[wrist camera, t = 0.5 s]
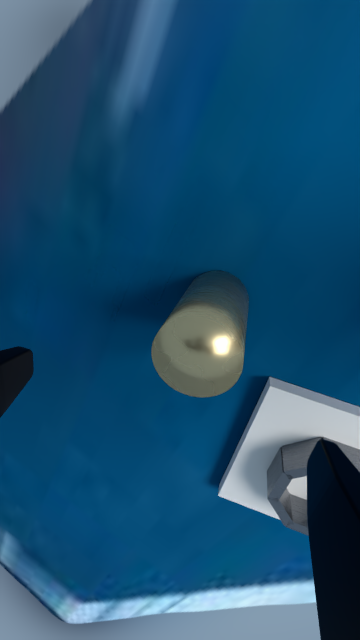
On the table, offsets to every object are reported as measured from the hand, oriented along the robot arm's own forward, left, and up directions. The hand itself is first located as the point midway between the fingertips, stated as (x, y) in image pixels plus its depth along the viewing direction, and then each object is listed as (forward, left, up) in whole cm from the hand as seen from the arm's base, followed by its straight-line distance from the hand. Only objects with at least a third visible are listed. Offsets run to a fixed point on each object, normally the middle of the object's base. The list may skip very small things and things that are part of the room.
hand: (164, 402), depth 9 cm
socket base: (-12, +13, -13) cm, 22 cm away
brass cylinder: (0, +2, -13) cm, 13 cm away
